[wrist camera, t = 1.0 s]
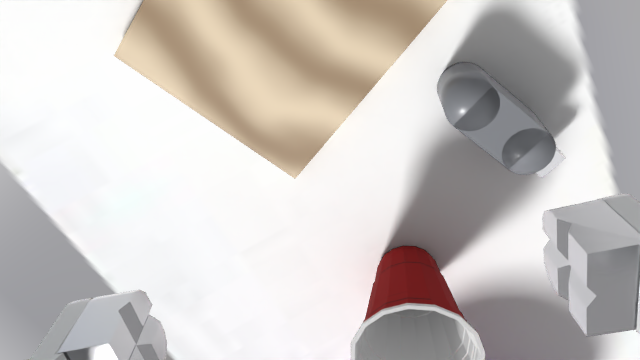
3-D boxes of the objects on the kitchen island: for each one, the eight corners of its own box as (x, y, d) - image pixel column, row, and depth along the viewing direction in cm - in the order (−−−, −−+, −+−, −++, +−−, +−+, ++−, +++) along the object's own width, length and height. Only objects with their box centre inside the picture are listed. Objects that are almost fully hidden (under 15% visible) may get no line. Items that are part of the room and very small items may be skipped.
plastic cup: (427, 203, 47) (446, 292, 37) (479, 280, 51) (509, 379, 41) (331, 252, 51) (323, 344, 40) (386, 319, 55) (392, 420, 44)
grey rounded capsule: (461, 52, 40) (472, 69, 36) (561, 135, 43) (581, 160, 39) (426, 90, 42) (433, 110, 38) (524, 167, 45) (540, 194, 41)
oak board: (251, -188, 33) (246, -192, 32) (451, -12, 38) (454, -9, 36) (121, 50, 42) (113, 55, 41) (296, 170, 46) (295, 178, 45)
